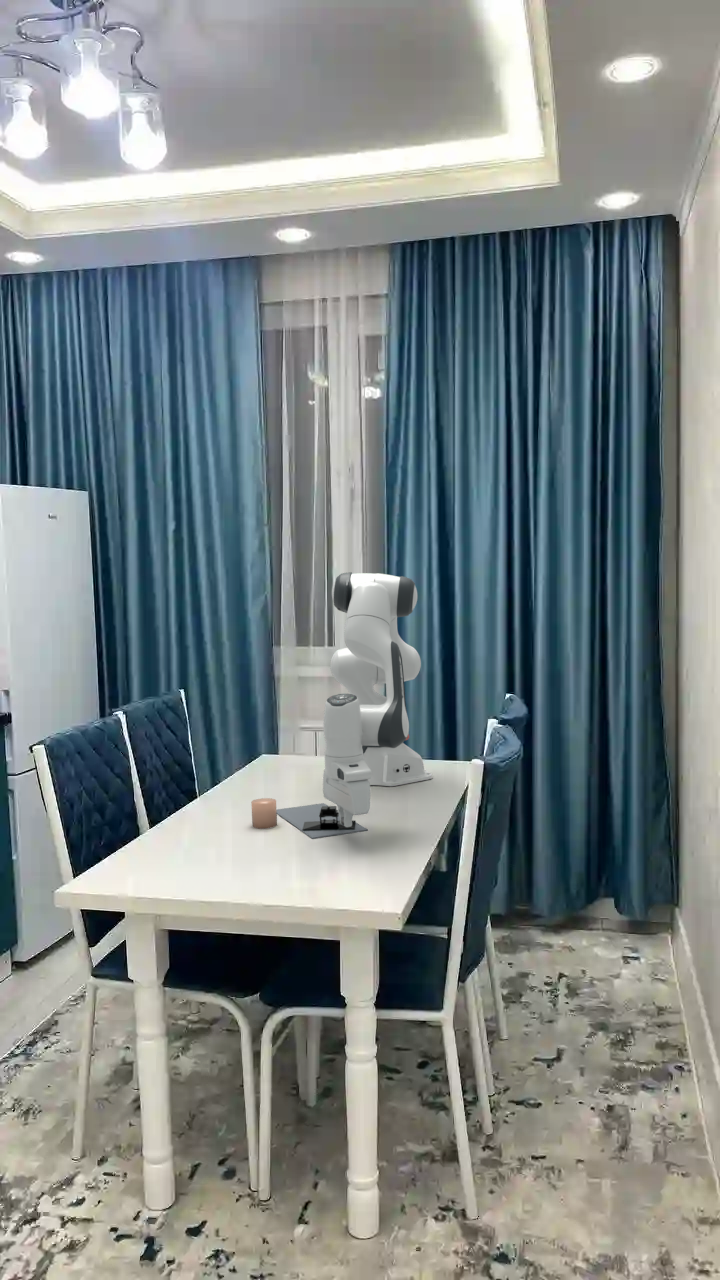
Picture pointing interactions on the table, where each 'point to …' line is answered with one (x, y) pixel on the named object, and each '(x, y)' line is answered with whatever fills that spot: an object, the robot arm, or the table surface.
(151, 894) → the table surface
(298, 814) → the mat
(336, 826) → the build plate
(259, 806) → the peach rounded cylinder
